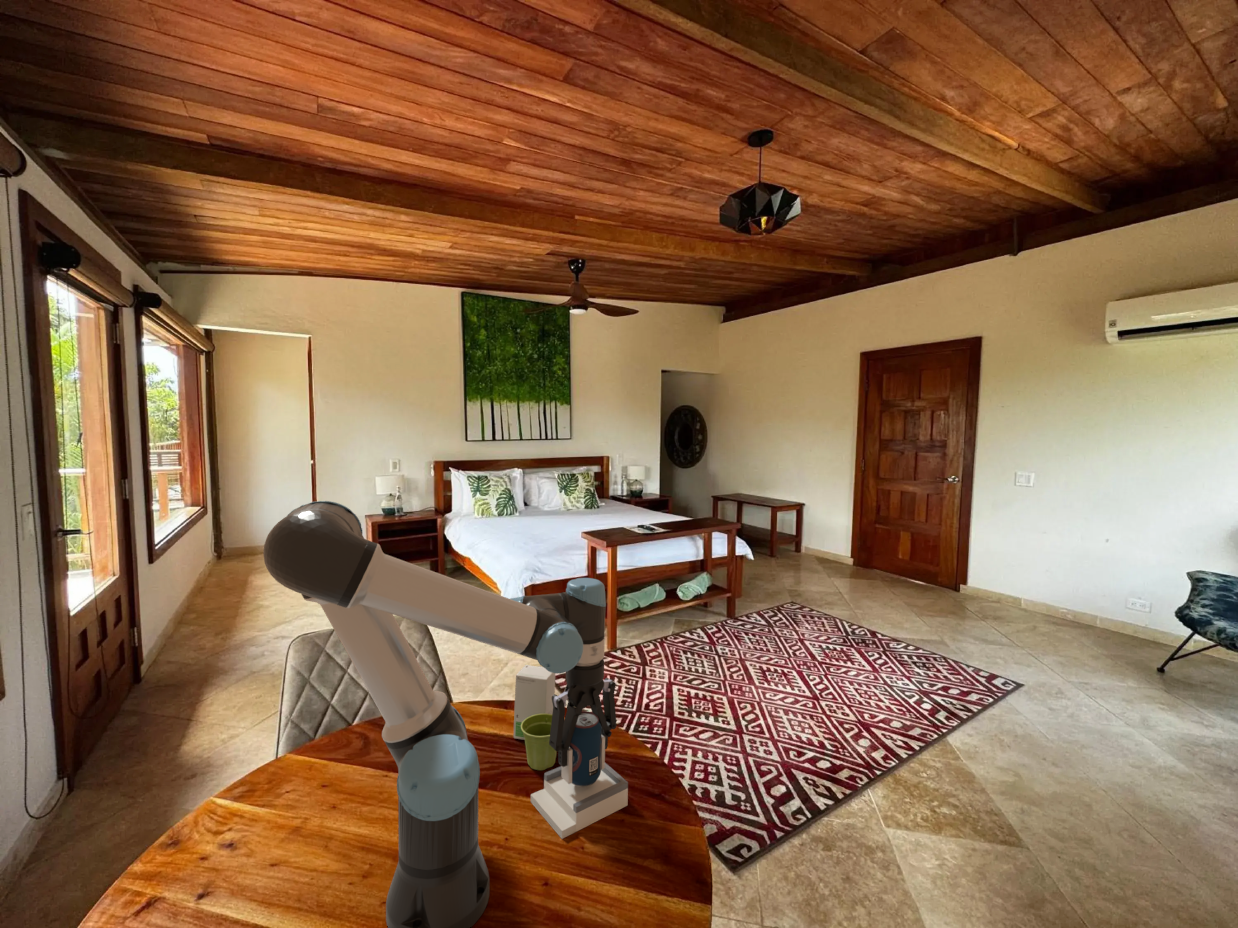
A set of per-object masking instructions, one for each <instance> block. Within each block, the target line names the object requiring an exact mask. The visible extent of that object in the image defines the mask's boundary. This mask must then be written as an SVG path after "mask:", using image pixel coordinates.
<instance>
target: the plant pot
mask: <svg viewBox="0 0 1238 928" xmlns="http://www.w3.org/2000/svg"><path fill="white" fill-rule="evenodd" d="M551 722H552V714H546V713H543V714H536V715H532V716H530V717H528V718H526V719H525V720H524V721H523V722H522V723H521V730H522V732H523V735H524V737H525V740H524V746H525V753H526V760H527V764H528V766H529V767H530V768H531V769H532V770H537V771H544V770H546V769H549V768H552V767H553V766H554V765H555V763H556V758H557V754H558V753H557V752H558V751H556V750H554V749H553V748H552V747H551V746H550V745H549V740H550V731H551Z"/></svg>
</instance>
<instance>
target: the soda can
mask: <svg viewBox="0 0 1238 928" xmlns="http://www.w3.org/2000/svg"><path fill="white" fill-rule="evenodd" d="M601 729H602V727H601V724H600V722H599V718H598V716H597V715H595V714H594V713H592V711H584V710H582V713H581V715H579V717H578V720H577V723H576V726H575V730H574V733H573V736H572V740H571V743H570V746H569V747H570V748H571V749H572V784H573V785H575V786H579V787H587V786H590V785H592V784H594V783H595V782H596V780H597V779H598V777H599V776H600V773H601Z"/></svg>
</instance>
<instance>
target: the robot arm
mask: <svg viewBox="0 0 1238 928" xmlns="http://www.w3.org/2000/svg"><path fill="white" fill-rule="evenodd" d="M361 523H362V522H361V520H360V519H359V518H358V516H357V514H355V513H354V512H353V511H352V510H351V509H350V507H349V508H348V507H347V506H346V505H344V504H342V503H339V502H335V501H330V500H319V501H312V502H308V503H305V504H302V505H300V506H299V507H297V508H295V509H292V510H291V511H290V512H289V513H288V514H287V515H286V516H284V517H283V518H282V519H281V520H279V521H278V522H277V523H276V524H275V525H274V526H273V527H272V529H271V530H270V531H269V533H268V534H267V537H266V539H265V542H264V544H263V551H262V553H263V560H264V565H265V567H266V570H267V571H268V573H269V574H270V576H271V577H272V578H273V579H274V580H275V581H276V582H277V583H279V584H280V585H281V586H283V587H285V588H287V589H288V590H292V591H293V592H296V593H298V594H301V596H302V598H303V599H304V601H307V602H312V603H317V604H319V605H320V607H321V608H322V611H323V612H324V613H325V616H326V617H327V619H328V622H329V623H330V625H331V627H332V628H333V630H334V632H335V634H336V635H337V637H338V639H339V641H340V642H341V643H340V644H342V647H343V648H344V650H345V651H346V653H347V655H348V658H349V659H350V660H351V662H352V664H353V666H354V668H355V670H356V671H357V674H358V675H359V677H360V678H361V681H362V682H363V684H364V686H365V687H366V689H367V691H368V693H369V694H370V697H371V699H372V701H373V702H374V703H375V706H376V707H377V709H378V711H379V712H380V714H381V716H382V718H383V720H384V722H385V723H384V726H383V729H382V731H381V738H382V740H383V741H384V743H385V746H386V747H387V749H388V751H389V752H390V754H391V756H392V757H393V760H394V762H395V763H396V766H397V771H398V775H397V778H396V791H397V792H396V793H397V796H398V799H397V800H398V802H397V803H398V804H397V805H398V816H397V817H398V822H397V823H398V826H397V827H398V836H397V837H398V862H397V865H396V868H395V871H394V874H393V877H392V880H391V883H390V886H389V889H388V892H387V896H386V902H385V922H386V926H388V927H387V928H470V927H471V928H472V927H473V926H474V925H475V924H476V923H477V922H478V920H479V919H480V918H481V916H482V915H483V913H484V912H485V910H486V908H487V905H488V903H489V898H490V873H489V869H488V867H487V864H486V861H485V858H484V855H483V853H482V850H481V847H480V846H479V783H480V776H481V775H480V774H481V770H480V769H481V768H480V762H479V758H478V753H477V751H476V748H475V746H474V745H473V744H472V743H471V742H470V741H469V739H468V731H467V727H466V723H465V721H464V719H463V717H462V715H461V713H459V711H458V710H457V709H456V708H455V706H453V705H452V704H451V702H450V700H449V698H448V697H447V694H446V693H444V692H443V691H440V690H433V687H432V686H431V684H430V682H429V680H428V679H427V677H426V675H425V673H424V671H423V669H422V667H421V666H420V663H419V661H418V660H417V658H416V656H415V654H414V652H413V650H412V648H411V647H410V644H409V643H408V641H407V639H406V637H405V635H404V633H403V631H402V629H401V627H400V625H399V623H398V621H397V619H396V618H395V617H399V618H403V619H407V620H409V621H413V622H416V623H418V624H422V625H425V626H427V627H428V626H429V627H432V628H434V629H438V630H441V631H445V632H447V633H451V634H452V635H453V634H454V635H457V636H460V637H464V638H467V639H470V640H473V641H476V642H479V643H483V644H486V645H489V646H492V647H495V648H498V649H501V650H505V651H508V652H511V653H514V654H518V655H521V656H524V657H527V658H529V659H533V660H535V661H537V662H538V664H539V665H540V667H544V668H545V669H546V670H547V671H549V672H552V673H555V674H556V675H557V674H563V673H565V681H566V685H565V688H564V691H563V692H562V693H560V694H559V695H557V694H555V695H553V696H552V703H553V714H552V722H551V731H550V740H549V745H550V746H551V747H552V748H553V749H554V750H556V751H557V752H558V753H557V754H558V755H557V756H558V758H557V759H558V760H557V761H558V764H559V765H560V766H562V770H561V777H562V778H563V779H564V780H565V781H566V782H567V783H568V784H570V783H572V749H571V748H570V747H569V746H570V743H571V740H572V736H573V733H574V730H575V726H576V723H577V720H578V717H579V715H581V713H582V711H583V710H584V709H585V708H586V707H590V709H591V712H592V713H594V714H595V715H597V716H598V718H599V722H600V724H601V727H602V729H601V770H602V769H604V768H605V763H606V762H605V761H606V750H607V749H608V745H609V744H608V743H609V742H608V741H609V740H608V739H609V737H611V736H612V734H613V733H612V730H615V729H616V728H617V726H618V725H617V714H616V703H615V701H616V700H615V691H616V685H617V683H616V682H615V681H614V680H612V679H610V678H608V677H606V678H604V677H605V660H604V658H605V640H606V639H605V636H606V635H605V629H606V627H605V626H606V624H605V623H606V607H607V603H606V602H607V601H606V591H605V589H606V587H605V585H604V583H603V582H602V581H601V580H599V579H597V578H592V577H578V578H575V579H571V580H568V582H567V583H566V588H565V592H564V591H562V592H558V593H548V594H535V595H522V596H517V597H511V598H508V597H505V596H503V595H500V594H497V593H494V592H491V591H489V590H485V589H483V588H481V587H478V586H475V585H472V584H469V583H466V582H464V581H461V580H459V579H455V578H452V577H450V576H447V575H445V574H442V573H439V572H435V571H434V570H430V569H428V568H424V567H422V566H419V565H417V564H415V563H411V562H408V561H405V560H403V559H400V558H397V557H395V556H392V555H389V554H386V553H384V552H383V550H382V547H381V545H380V544H379V543H377V542H374V541H371V540H369V539H366V538H364V535H363V528H362V524H361ZM601 692H602V701H601V698H600V694H601ZM567 701H568V702H567ZM602 706H603V707H602Z"/></svg>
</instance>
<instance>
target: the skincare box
mask: <svg viewBox="0 0 1238 928" xmlns="http://www.w3.org/2000/svg"><path fill="white" fill-rule="evenodd" d="M514 686H515V689H514V690H515V691H514V692H515V693H514V711H513V713H514V715H513V716H514V720H513V738H514V739H518V740H524V741H525V737H524V735H523V732H522V730H521V723H522V722H523V721H524V720H525V719H526V718H528V717H530V716H532V715H536V714H543V713H546V714H553V703H552V696H553V695H555V692H556V691H555V690H556V673H552V672H549V671H547V670H546V669H545V668H544V667H542V666H541V665H540V666H535V665H529V664H524V666H523V667H521V669H520V670H519V671H518V672H517V673H516V674H515V685H514Z"/></svg>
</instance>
